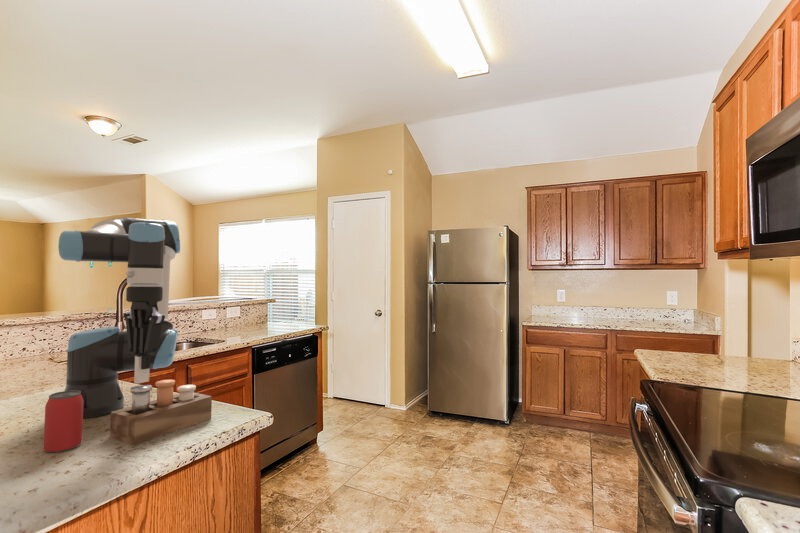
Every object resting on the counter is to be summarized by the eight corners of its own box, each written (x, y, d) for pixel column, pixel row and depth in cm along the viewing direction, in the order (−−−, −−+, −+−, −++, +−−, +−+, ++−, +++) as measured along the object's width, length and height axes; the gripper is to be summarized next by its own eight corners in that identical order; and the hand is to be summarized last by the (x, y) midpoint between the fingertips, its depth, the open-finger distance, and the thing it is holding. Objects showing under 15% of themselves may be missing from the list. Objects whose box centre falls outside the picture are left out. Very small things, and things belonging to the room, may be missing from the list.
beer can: (59, 455, 84) (61, 399, 84) (35, 452, 85) (37, 396, 86) (89, 442, 90) (91, 390, 91) (66, 440, 92) (68, 388, 92)
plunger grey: (125, 416, 94) (126, 388, 94) (144, 411, 98) (145, 384, 98) (136, 419, 92) (137, 390, 93) (155, 414, 96) (156, 386, 96)
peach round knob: (150, 409, 100) (151, 382, 100) (167, 404, 104) (168, 378, 104) (161, 412, 98) (162, 384, 98) (178, 407, 102) (179, 380, 102)
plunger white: (173, 413, 105) (173, 387, 105) (188, 408, 109) (188, 383, 109) (183, 415, 103) (184, 390, 103) (198, 411, 107) (199, 386, 107)
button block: (109, 437, 94) (110, 412, 94) (187, 412, 112) (188, 391, 112) (134, 445, 89) (135, 419, 89) (211, 418, 107) (211, 396, 107)
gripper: (113, 285, 96) (109, 382, 95) (145, 286, 90) (141, 389, 89) (144, 285, 103) (141, 375, 102) (176, 286, 97) (173, 381, 96)
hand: (141, 381), depth 95 cm, fingers closed
